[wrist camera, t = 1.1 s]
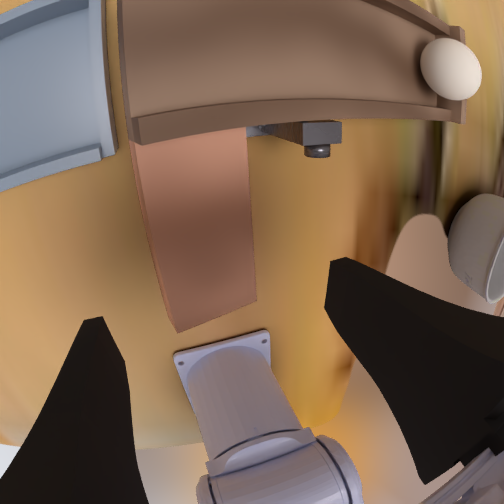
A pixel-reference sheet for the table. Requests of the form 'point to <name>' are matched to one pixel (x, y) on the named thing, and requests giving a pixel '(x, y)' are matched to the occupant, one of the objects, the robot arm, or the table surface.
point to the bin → (54, 89)
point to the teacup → (479, 246)
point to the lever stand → (304, 134)
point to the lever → (250, 115)
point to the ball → (450, 69)
